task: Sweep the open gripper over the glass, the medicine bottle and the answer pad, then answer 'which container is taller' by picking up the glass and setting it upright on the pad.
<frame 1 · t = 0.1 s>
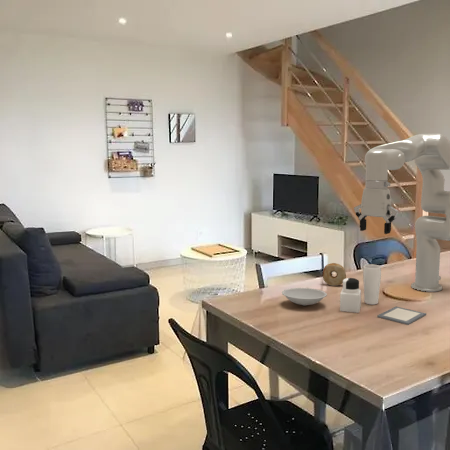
hand: (374, 231, 187), 31 cm above the table, tool pointing down, fingers open, 9 cm apart
brown thick ring: (333, 285, 230), on the table
dish: (304, 305, 204), on the table
drinking glass: (371, 303, 205), on the table
answer pad: (401, 316, 189), on the table
medicine bottle: (350, 309, 198), on the table
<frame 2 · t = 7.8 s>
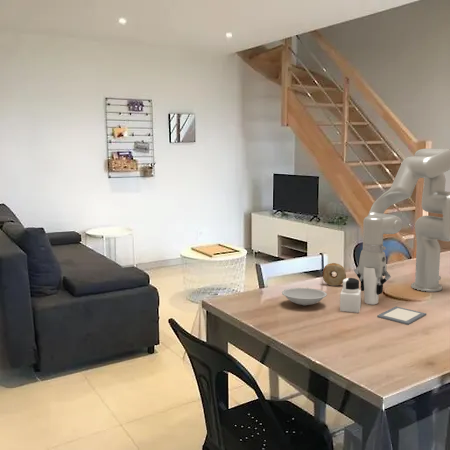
hand: (371, 291, 204), 5 cm above the table, tool pointing down, fingers closed on drinking glass, 6 cm apart
drinking glass: (371, 303, 205), on the table, touching gripper
everything else where it was.
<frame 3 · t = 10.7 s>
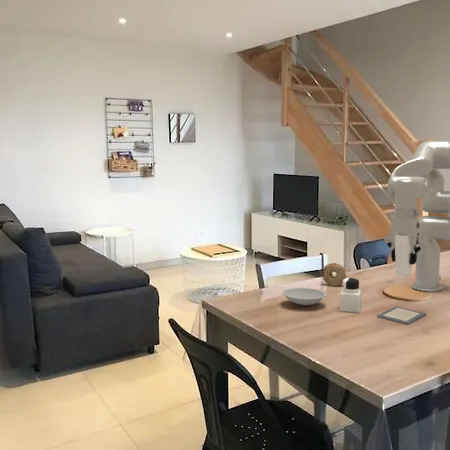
hand: (403, 261, 186), 20 cm above the table, tool pointing down, fingers closed on drinking glass, 6 cm apart
drinking glass: (403, 274, 187), point 16 cm above the table, touching gripper
everything else where it was.
when the fingers open (7 cm above the table, at t = 14.1 s): drinking glass drops 1 cm, resting on answer pad.
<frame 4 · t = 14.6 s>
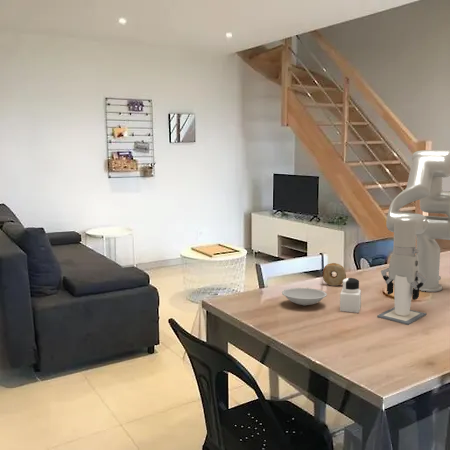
hand: (402, 296, 188), 7 cm above the table, tool pointing down, fingers open, 9 cm apart
drinking glass: (401, 314, 190), point 1 cm above the table, touching answer pad
everything else where it was.
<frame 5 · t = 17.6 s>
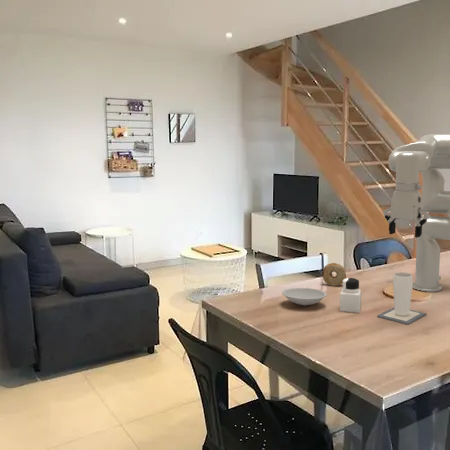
hand: (404, 235, 184), 30 cm above the table, tool pointing down, fingers open, 9 cm apart
nothing on the table moved.
at the end: drinking glass inside the target area on the answer pad (0.2 cm from its centre), point 0.5 cm above the answer pad's base; drinking glass tilted 0°; medicine bottle moved 0.2 cm from its start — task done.
